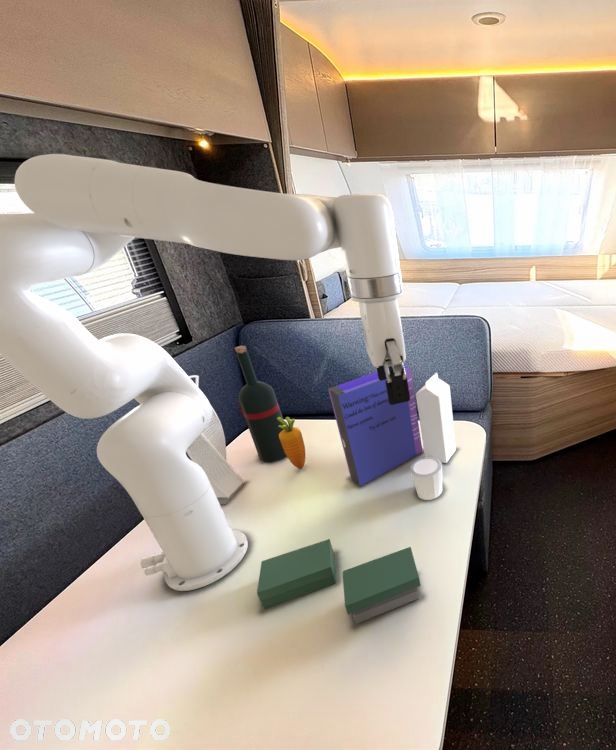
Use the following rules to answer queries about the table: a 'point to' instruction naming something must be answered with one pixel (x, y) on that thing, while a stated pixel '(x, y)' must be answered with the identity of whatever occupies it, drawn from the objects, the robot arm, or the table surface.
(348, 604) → the green flat block
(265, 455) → the wine bottle
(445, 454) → the milk
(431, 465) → the white cylinder
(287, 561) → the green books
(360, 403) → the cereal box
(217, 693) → the table surface
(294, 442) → the carrot
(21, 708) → the table surface
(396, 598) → the grey books
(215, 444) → the skyscraper
